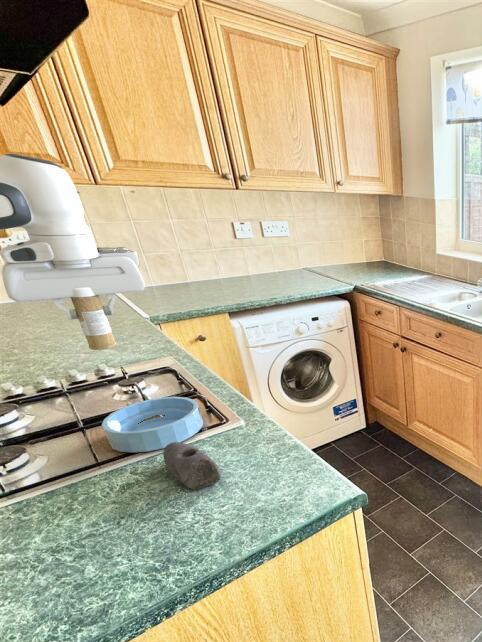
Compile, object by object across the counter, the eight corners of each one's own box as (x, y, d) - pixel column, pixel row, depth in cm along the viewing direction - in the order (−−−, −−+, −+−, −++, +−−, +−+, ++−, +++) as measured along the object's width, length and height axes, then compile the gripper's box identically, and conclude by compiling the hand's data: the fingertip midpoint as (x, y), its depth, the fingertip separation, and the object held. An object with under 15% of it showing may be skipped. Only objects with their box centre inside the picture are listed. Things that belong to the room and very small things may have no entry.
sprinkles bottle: (90, 345, 92) (66, 284, 86) (118, 342, 94) (96, 282, 89) (88, 352, 88) (63, 288, 83) (117, 348, 91) (94, 287, 85)
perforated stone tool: (158, 469, 80) (147, 438, 77) (190, 457, 84) (180, 427, 81) (194, 502, 73) (183, 469, 70) (226, 486, 77) (217, 455, 74)
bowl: (93, 460, 81) (83, 436, 79) (136, 420, 95) (128, 399, 93) (186, 452, 85) (179, 429, 83) (214, 415, 99) (208, 394, 97)
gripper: (132, 244, 91) (152, 306, 97) (-11, 248, 78) (22, 320, 84) (137, 248, 87) (156, 312, 93) (-13, 253, 74) (21, 328, 80)
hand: (92, 316), depth 88 cm, fingers closed on sprinkles bottle, 4 cm apart
